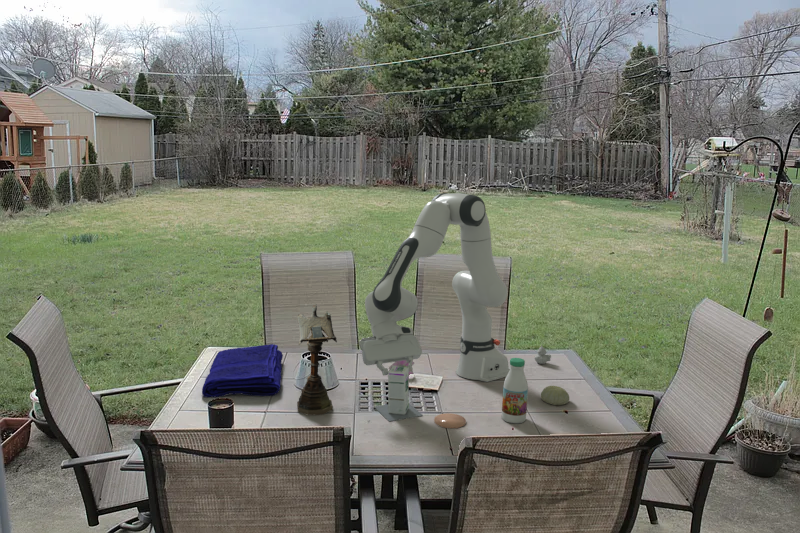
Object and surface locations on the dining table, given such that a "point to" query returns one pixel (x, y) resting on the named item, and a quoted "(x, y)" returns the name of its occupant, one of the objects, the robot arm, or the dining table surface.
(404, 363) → the lily
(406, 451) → the dining table surface
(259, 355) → the towel
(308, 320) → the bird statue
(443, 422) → the coaster
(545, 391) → the sea urchin shell
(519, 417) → the milk bottle
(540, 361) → the grey figurine
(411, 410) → the tile
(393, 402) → the syrup box
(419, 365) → the dining table surface
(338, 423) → the dining table surface
